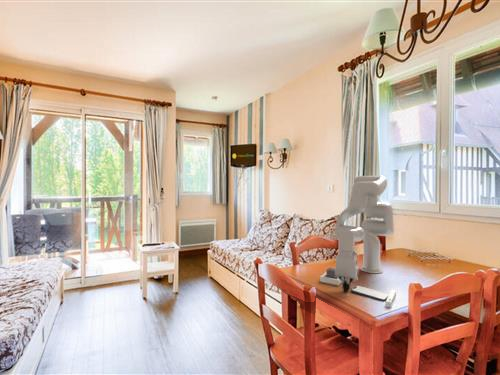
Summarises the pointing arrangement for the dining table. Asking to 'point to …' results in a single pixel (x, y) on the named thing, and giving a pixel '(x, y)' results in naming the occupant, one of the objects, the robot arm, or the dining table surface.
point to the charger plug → (331, 273)
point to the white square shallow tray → (330, 280)
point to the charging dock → (391, 298)
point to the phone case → (370, 293)
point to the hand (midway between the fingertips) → (346, 290)
